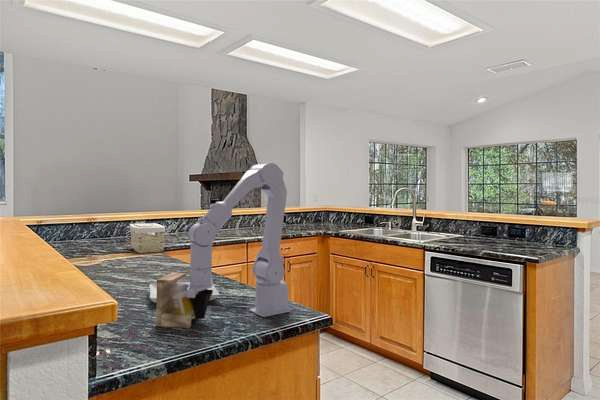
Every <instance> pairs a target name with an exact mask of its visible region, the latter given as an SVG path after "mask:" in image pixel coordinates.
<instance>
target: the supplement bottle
mask: <svg viewBox="0 0 600 400" xmlns="http://www.w3.org/2000/svg"><path fill="white" fill-rule="evenodd" d="M184 282H185V283H181V284H177V285H174V286H172V288H173V291H174V292H175V293H174V294H173V296H172V300H173V304H174V308H175V312H176V314H184V315H191V321H192V320H194V319H197V318H196V317H195V313H194V308H193V305H192V302H191V300H190V298H187V290H188V289H187V288H188V287H186V283H187V282H188V281H184Z"/></svg>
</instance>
